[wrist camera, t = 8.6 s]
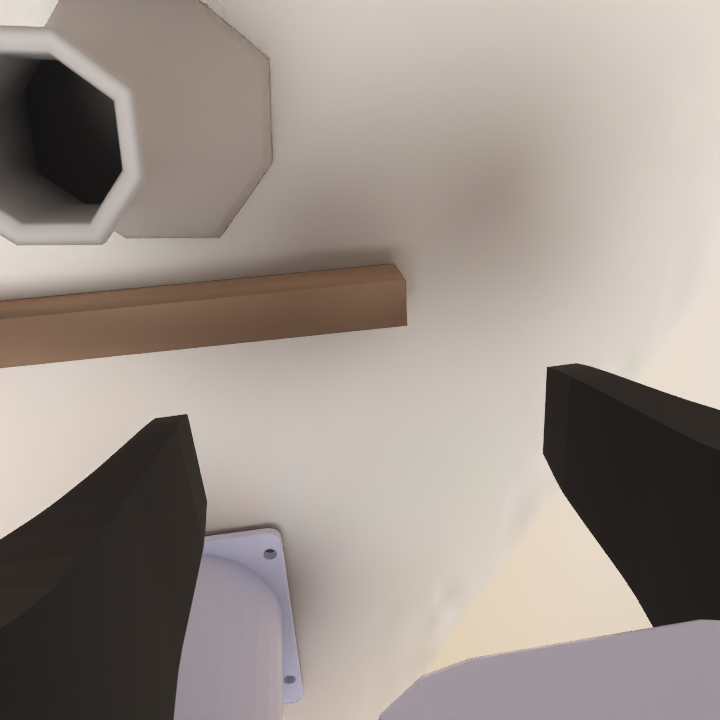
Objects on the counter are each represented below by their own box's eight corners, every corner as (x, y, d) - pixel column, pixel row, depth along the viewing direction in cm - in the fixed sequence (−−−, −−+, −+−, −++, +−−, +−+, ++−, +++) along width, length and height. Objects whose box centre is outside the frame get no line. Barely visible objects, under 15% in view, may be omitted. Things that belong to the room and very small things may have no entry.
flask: (240, 270, 20) (214, 413, 11) (4, 198, 18) (-260, 298, 9) (307, 38, 18) (345, -25, 9) (43, -70, 16) (-260, -291, 7)
